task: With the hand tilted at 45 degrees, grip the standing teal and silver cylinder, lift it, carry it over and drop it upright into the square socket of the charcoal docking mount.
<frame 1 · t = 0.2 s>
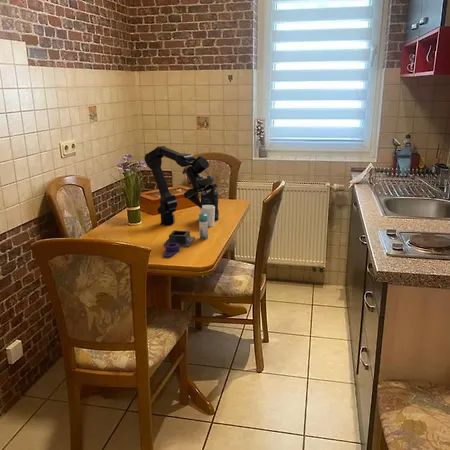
hand: (208, 206, 224), 14 cm above the table, tool tilted 35°, fingers open, 9 cm apart
teal and silver cylinder: (203, 238, 222), on the table
lever: (170, 254, 203), on the table
storage jar: (209, 219, 254), on the table
white cup: (207, 225, 244), on the table
docking mount: (179, 242, 217), on the table
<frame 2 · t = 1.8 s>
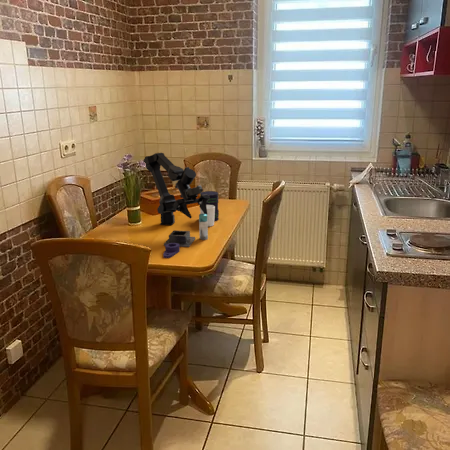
hand: (199, 216, 222), 10 cm above the table, tool tilted 45°, fingers open, 9 cm apart
nothing on the table moved.
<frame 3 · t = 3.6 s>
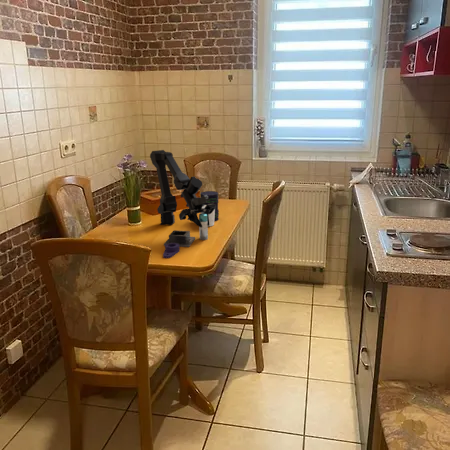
hand: (205, 226, 219), 7 cm above the table, tool tilted 45°, fingers closed on teal and silver cylinder, 4 cm apart
teal and silver cylinder: (203, 238, 222), on the table, touching gripper
everything else where it was.
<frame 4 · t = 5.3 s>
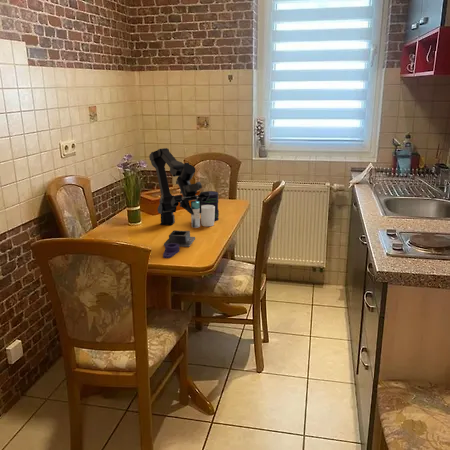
hand: (196, 213, 215), 13 cm above the table, tool tilted 45°, fingers closed on teal and silver cylinder, 4 cm apart
teal and silver cylinder: (195, 226, 218), point 7 cm above the table, touching gripper
everything else where it was.
when the fingers open (9 cm above the table, at t = 7.2 s): teal and silver cylinder drops 1 cm, resting on docking mount.
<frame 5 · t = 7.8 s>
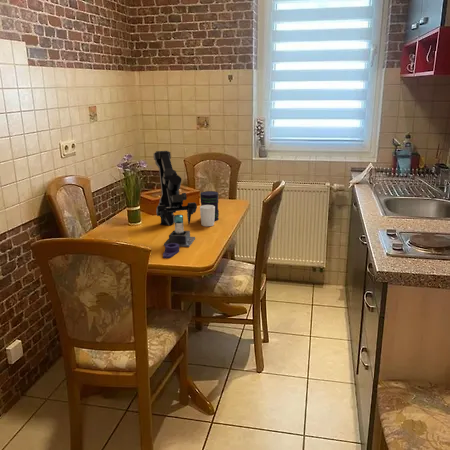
hand: (179, 224, 213), 9 cm above the table, tool tilted 45°, fingers open, 9 cm apart
teal and silver cylinder: (179, 240, 217), point 1 cm above the table, touching docking mount
everything else where it was.
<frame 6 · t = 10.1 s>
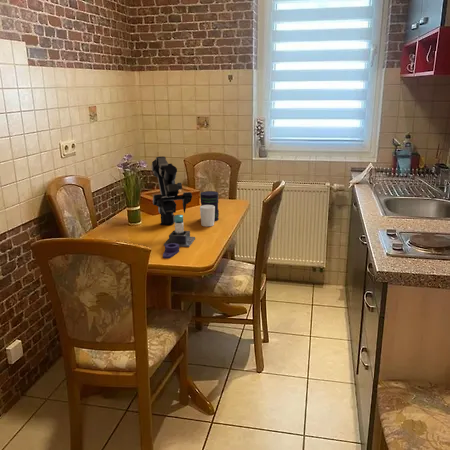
hand: (175, 213, 221), 12 cm above the table, tool tilted 45°, fingers open, 9 cm apart
nothing on the table moved.
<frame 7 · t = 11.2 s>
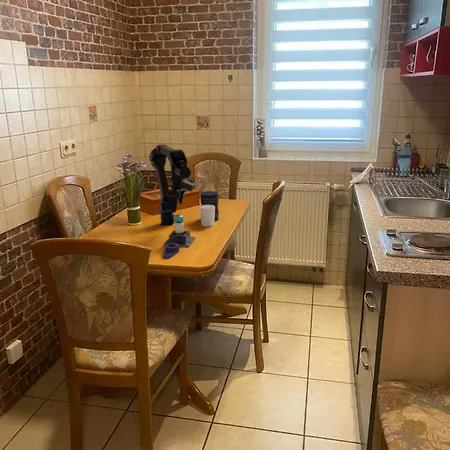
hand: (178, 206, 230), 13 cm above the table, tool pointing down, fingers open, 9 cm apart
nothing on the table moved.
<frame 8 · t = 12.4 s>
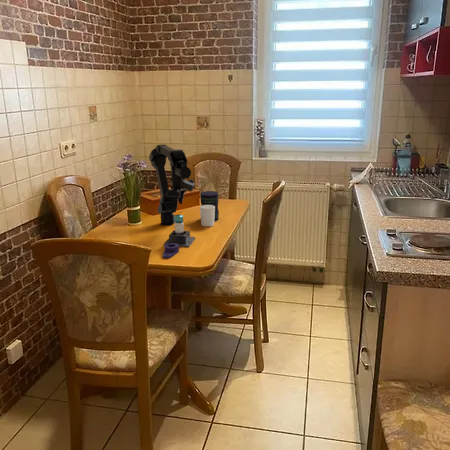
hand: (178, 206, 230), 13 cm above the table, tool pointing down, fingers open, 9 cm apart
nothing on the table moved.
at the end: teal and silver cylinder 0.1 cm off-centre on the docking mount, point 1.0 cm above the docking mount's base; teal and silver cylinder tilted 0°; the gripper is holding nothing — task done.
